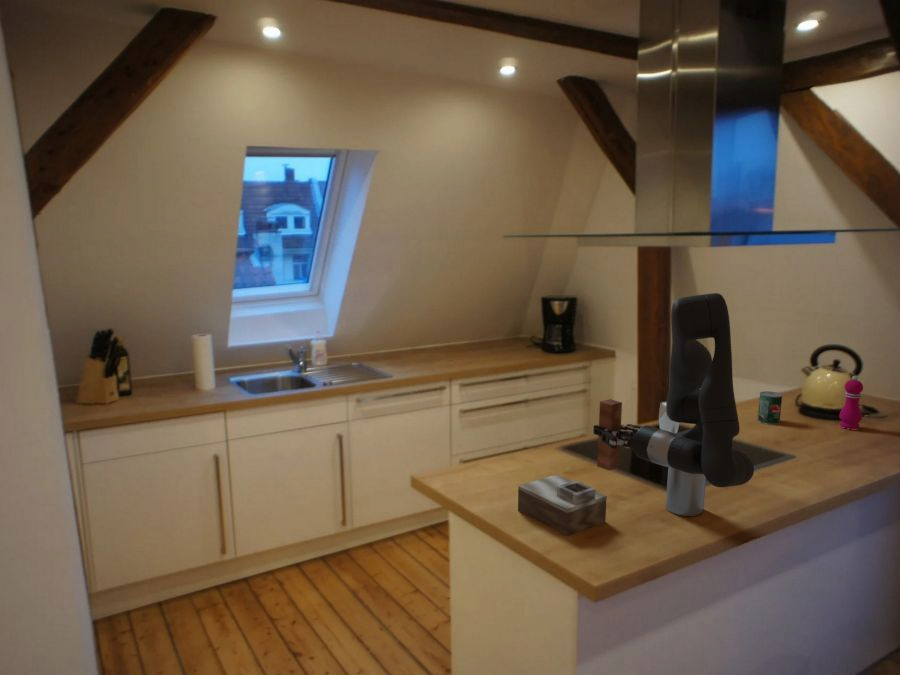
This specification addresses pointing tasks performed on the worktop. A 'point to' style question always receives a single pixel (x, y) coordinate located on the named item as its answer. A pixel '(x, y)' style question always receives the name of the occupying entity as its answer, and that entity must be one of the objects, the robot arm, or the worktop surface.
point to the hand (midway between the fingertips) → (600, 427)
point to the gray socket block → (562, 504)
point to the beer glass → (666, 420)
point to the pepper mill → (851, 404)
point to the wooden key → (611, 420)
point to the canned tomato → (769, 407)
